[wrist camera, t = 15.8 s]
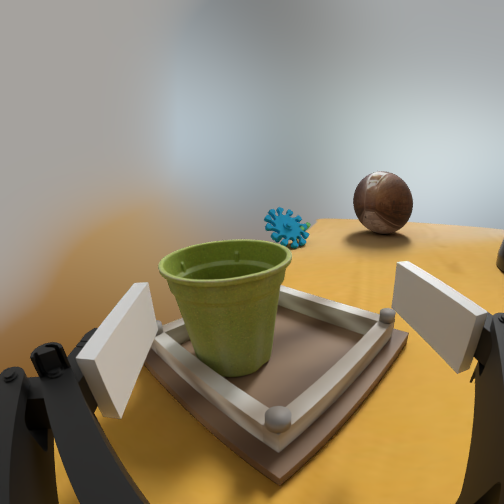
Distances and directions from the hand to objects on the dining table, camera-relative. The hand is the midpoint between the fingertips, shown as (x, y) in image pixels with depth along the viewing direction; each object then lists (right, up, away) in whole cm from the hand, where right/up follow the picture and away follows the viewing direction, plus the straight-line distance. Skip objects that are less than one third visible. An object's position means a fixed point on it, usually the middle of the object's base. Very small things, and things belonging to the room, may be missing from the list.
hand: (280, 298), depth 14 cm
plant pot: (-3, -6, +9) cm, 11 cm away
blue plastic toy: (+6, +4, +46) cm, 47 cm away
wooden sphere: (+31, +7, +51) cm, 60 cm away
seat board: (0, -7, +10) cm, 12 cm away
